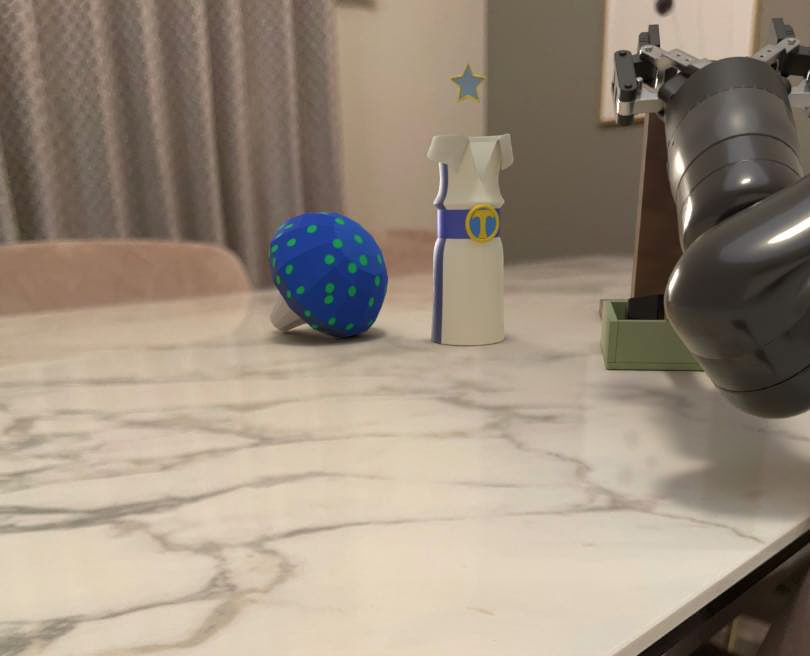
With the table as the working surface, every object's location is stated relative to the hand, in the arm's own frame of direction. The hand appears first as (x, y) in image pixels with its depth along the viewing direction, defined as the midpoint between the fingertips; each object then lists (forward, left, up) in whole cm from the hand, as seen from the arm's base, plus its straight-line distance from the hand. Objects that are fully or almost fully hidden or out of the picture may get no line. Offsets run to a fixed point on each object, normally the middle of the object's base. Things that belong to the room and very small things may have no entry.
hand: (711, 35), depth 62 cm
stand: (-1, -32, -25) cm, 40 cm away
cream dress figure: (+19, -15, -25) cm, 35 cm away
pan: (0, -2, -22) cm, 22 cm away
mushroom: (+35, -17, -25) cm, 46 cm away
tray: (0, -7, -25) cm, 26 cm away
